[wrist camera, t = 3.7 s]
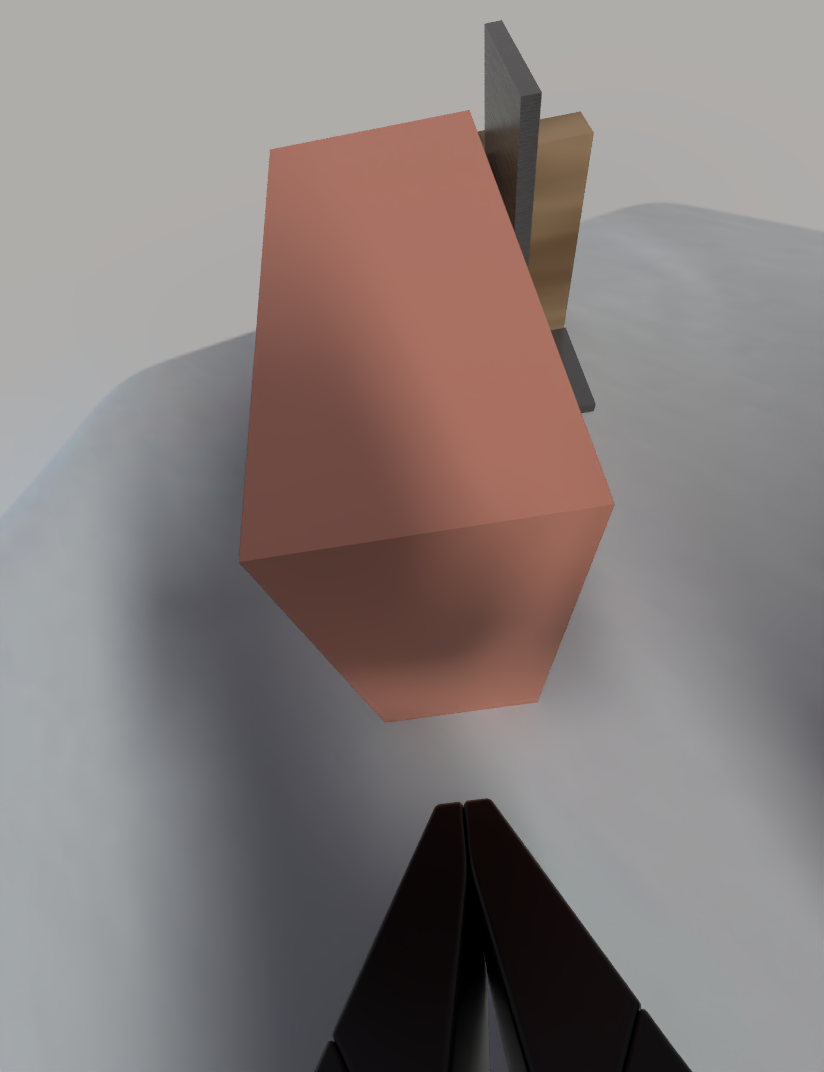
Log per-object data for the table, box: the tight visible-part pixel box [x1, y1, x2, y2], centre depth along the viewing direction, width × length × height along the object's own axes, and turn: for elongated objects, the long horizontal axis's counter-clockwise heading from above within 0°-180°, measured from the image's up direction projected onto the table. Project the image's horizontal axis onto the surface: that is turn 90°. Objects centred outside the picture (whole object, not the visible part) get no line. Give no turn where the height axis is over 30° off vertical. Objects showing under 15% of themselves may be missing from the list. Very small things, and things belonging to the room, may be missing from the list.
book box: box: [239, 110, 615, 722], centre depth 18 cm, size 14×6×14 cm, turn 6°
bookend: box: [485, 20, 595, 413], centre depth 22 cm, size 6×5×14 cm
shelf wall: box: [478, 112, 593, 330], centre depth 26 cm, size 2×13×10 cm, turn 96°
